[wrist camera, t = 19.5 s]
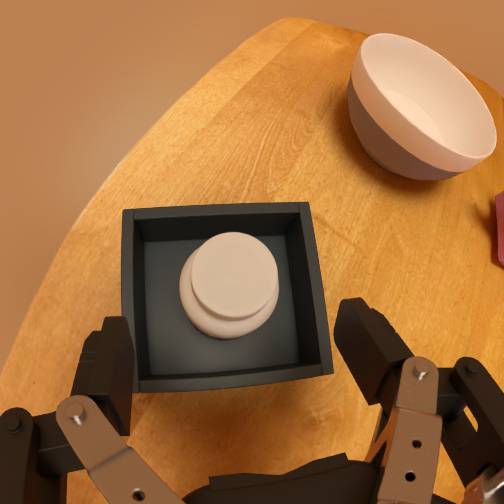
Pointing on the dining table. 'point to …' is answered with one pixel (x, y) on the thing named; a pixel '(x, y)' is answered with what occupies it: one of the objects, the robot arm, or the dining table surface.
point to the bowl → (416, 110)
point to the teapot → (500, 225)
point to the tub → (177, 322)
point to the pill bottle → (229, 286)
